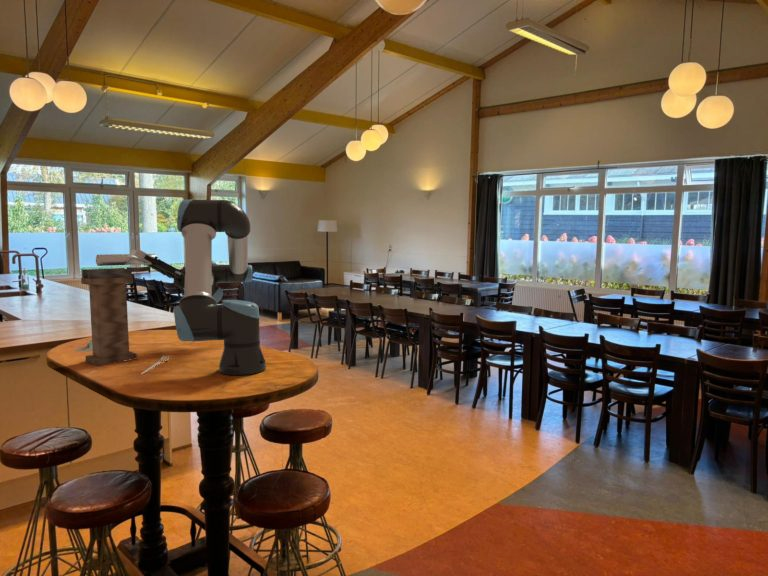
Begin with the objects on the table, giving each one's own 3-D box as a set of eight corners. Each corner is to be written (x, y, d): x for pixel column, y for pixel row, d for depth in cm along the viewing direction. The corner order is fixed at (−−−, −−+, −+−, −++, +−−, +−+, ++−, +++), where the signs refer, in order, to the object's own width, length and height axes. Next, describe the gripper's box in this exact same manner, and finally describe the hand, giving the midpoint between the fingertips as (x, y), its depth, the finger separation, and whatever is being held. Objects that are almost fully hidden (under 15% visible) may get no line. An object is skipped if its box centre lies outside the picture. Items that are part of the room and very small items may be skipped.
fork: (136, 376, 173) (136, 370, 172) (162, 360, 192) (161, 355, 192) (146, 376, 173) (146, 370, 172) (170, 360, 192) (170, 355, 192)
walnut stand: (126, 355, 200) (122, 267, 197) (136, 359, 193) (132, 268, 190) (85, 361, 190) (80, 269, 187) (95, 365, 183) (90, 270, 180)
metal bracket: (91, 332, 218) (127, 332, 218) (94, 344, 220) (130, 344, 220) (72, 348, 205) (111, 348, 205) (75, 362, 207) (113, 361, 207)
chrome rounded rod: (152, 263, 203) (152, 253, 202) (157, 264, 200) (156, 254, 199) (95, 265, 188) (95, 254, 188) (99, 266, 186) (99, 254, 185)
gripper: (193, 290, 204) (138, 261, 188) (173, 287, 216) (119, 260, 200) (201, 273, 206) (148, 243, 190) (181, 271, 218) (129, 243, 202)
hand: (133, 252), depth 195 cm, fingers closed on chrome rounded rod, 4 cm apart
